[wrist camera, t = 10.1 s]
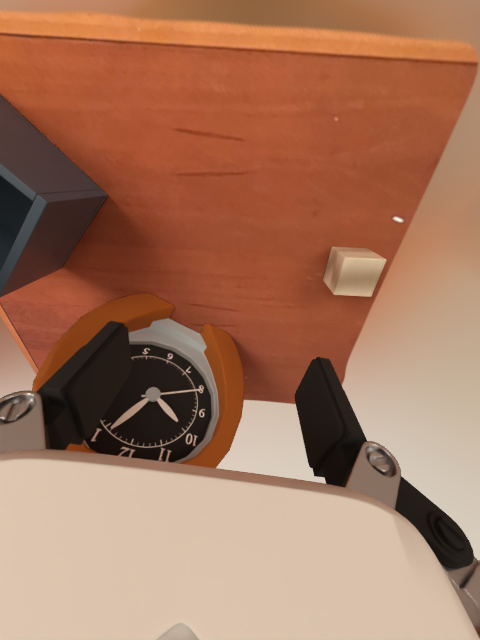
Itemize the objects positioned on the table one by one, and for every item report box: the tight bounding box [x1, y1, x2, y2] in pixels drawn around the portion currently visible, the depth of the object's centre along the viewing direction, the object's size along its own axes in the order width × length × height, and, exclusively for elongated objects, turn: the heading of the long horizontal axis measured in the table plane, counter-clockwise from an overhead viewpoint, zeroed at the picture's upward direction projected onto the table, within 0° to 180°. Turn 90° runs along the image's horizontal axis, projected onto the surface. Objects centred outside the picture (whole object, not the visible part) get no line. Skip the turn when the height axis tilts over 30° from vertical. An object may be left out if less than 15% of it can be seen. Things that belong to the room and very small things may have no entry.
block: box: [323, 247, 386, 297], centre depth 26 cm, size 4×4×4 cm
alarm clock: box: [32, 293, 245, 468], centre depth 25 cm, size 22×10×23 cm, turn 58°
